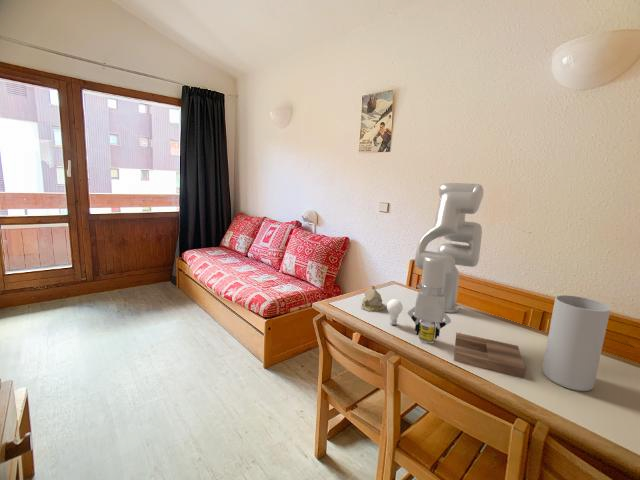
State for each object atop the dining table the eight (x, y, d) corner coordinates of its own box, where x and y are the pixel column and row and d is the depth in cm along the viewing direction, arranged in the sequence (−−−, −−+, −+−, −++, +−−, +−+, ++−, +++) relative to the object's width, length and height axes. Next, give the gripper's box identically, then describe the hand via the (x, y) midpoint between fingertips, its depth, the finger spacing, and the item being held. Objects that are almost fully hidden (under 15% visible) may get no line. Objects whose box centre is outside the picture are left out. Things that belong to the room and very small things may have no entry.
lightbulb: (395, 329, 124) (397, 303, 122) (382, 323, 129) (384, 298, 127) (404, 325, 128) (406, 300, 126) (391, 319, 133) (393, 295, 131)
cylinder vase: (578, 396, 87) (595, 313, 83) (532, 371, 98) (546, 297, 94) (602, 386, 92) (619, 308, 88) (556, 364, 103) (570, 293, 99)
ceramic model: (387, 312, 141) (388, 291, 139) (362, 311, 140) (364, 291, 139) (379, 300, 155) (381, 281, 153) (357, 300, 154) (359, 281, 152)
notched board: (455, 339, 117) (456, 332, 117) (516, 353, 109) (517, 345, 109) (453, 360, 103) (454, 352, 103) (523, 378, 95) (525, 369, 94)
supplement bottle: (418, 341, 115) (420, 317, 113) (419, 335, 120) (421, 311, 118) (433, 345, 113) (436, 320, 111) (433, 338, 118) (436, 314, 116)
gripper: (405, 288, 113) (401, 334, 116) (456, 297, 106) (450, 345, 109) (409, 283, 120) (405, 326, 123) (457, 291, 112) (451, 336, 116)
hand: (426, 335), depth 116 cm, fingers open, 5 cm apart
